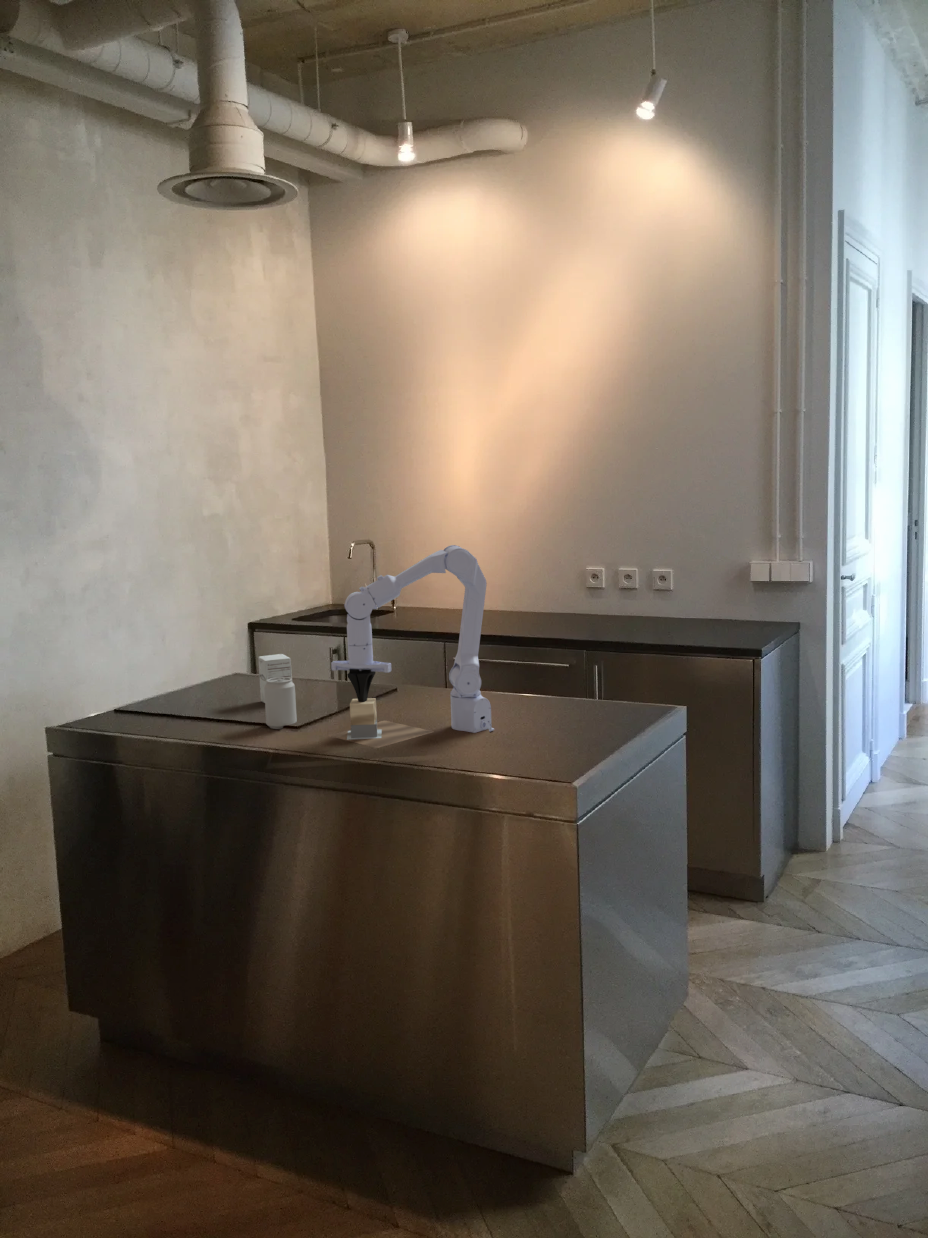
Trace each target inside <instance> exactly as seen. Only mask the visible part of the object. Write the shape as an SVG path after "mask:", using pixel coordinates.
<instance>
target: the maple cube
mask: <svg viewBox="0 0 928 1238" xmlns="http://www.w3.org/2000/svg"><path fill="white" fill-rule="evenodd" d="M349 713H350V714H349V715H350V726H351V725H373V724H375V722H376V719H377V718H378V716H377V715H378V714H377V699H376V697H373V698H372V697H370V698H369V697H368V698H367V701H365V702H358V698H352V699H351V700H350V703H349ZM377 720H378V719H377Z"/></svg>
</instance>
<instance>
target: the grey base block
mask: <svg viewBox="0 0 928 1238" xmlns="http://www.w3.org/2000/svg"><path fill="white" fill-rule="evenodd" d="M377 722H378V719H376V722H375V724H373V725H351V724H350V729H351V738H366V737H377Z"/></svg>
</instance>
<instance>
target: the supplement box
mask: <svg viewBox="0 0 928 1238" xmlns="http://www.w3.org/2000/svg"><path fill="white" fill-rule="evenodd" d="M291 659H292V658H291V657H289V656H288V655H285V654H284V653H277V654H268V655H262V656H261V655H260V656H258V674H259V675H258V677H259V690H260V702H262V703H264V704H265V694H264V686H265V685H266V684H267V680H268V679H270V678H276V677H289V678H291V679H292V680H291V681H292V682H293V675H292V673H293V672H292V660H291Z"/></svg>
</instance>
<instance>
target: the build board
mask: <svg viewBox="0 0 928 1238" xmlns="http://www.w3.org/2000/svg"><path fill="white" fill-rule="evenodd" d="M432 733H435V731H433V730H429V729H424V728H420V727H417V726H413V725H412V726H411V725H407V724H402V723H397V722H395V721H389V720H380V721H377V737H366V738H351V728H350V729H346V730H341V731H339V732H335V733H331V734H328V735H327V736H329V737H331V738H336V739H340V740H343V741H348V742H352V743H356V744H359V745H363V746H368V747H371V748H375V749H379V748H383V747H386V746H390V745H392V744H393V745H394V744H396V743H399V742H404V741H408V740H410V739H414V738H418V737H422V736H425V735H430V734H432Z"/></svg>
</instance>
